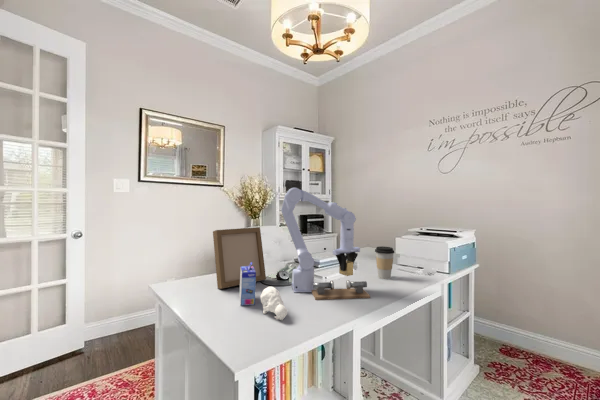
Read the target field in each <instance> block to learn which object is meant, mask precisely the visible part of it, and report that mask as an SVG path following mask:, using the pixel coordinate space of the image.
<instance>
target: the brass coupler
mask: <svg viewBox="0 0 600 400" xmlns="http://www.w3.org/2000/svg"><path fill="white" fill-rule="evenodd" d="M338 268H339V269H338V271H339V274H340V275H343V276H345V277H348V276H349V277H350V276H353V275H354V264H353V262H351V261H347V260H346V269H345V271H342V270H341V269H340V265H339V267H338Z"/></svg>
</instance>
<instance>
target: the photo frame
mask: <svg viewBox="0 0 600 400" xmlns="http://www.w3.org/2000/svg"><path fill="white" fill-rule="evenodd" d="M261 232H262V231H261V227H260V226H258V227H257V226H256V227H242V228H228V229H227V228H226V229H216V230H213V231H212V236H213V249H214V260H215V261H214V262H215V271H216V272H215V273H216V283H217V289H227V288H230V287H235V286H236V287H237V286H240V271H241V267H243V266H249V264H250V263H251V262H252V266H254V269H255V271H256V282H259V281H265V280H267V277H266V268H265V267H266V266H265V260H264V257H265V256H264V249H263V241H262V233H261ZM250 266H251V265H250Z"/></svg>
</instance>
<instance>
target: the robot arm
mask: <svg viewBox="0 0 600 400" xmlns="http://www.w3.org/2000/svg"><path fill="white" fill-rule="evenodd" d="M299 202H308V203H311V204H313V205H314V206H316V207H318V208H320V209H323V210H324V213H325V214H326V215H328V216H329V217H331V218H333V219H335V220H336V221H340V233H339V236H340V238H339V240H340V245H339V248H336V249H332V255H333V256H335V257H336V259H337V262H338V264H339V265H340V269H341V270H342V271H345V269H346V260H347V261H351V262H353V265H354V264H355V261H356V259H357V257H358V255H359V254H358V253H361V247H360V246H354V242H355V241H354V238H355V237H354V235H355V228H354V226H355V225H354V224H355V223H356V220H357V217H356V216H355V213H353V212H352V211H349V210H348V208H346V207H342V206H340V205H339V204H338V203H337V202H335V201H334V202H333V201H331V202H330V201H329V202H326V201H324V200H322V199H321V198H319V197H317V196H315V195H314V194H312V193H310V192H309V191H307V190H303V189H299V188H298V187H291V188H289V189H288V190H287V192H286V193H285V195H284V198H283V201H282V206H281V210H280V211H281V214H282V217H283V220H284V222H285V224H286V227H287V231H288V232H289V234H290V237H291V240H292V243H293V245H294V247H295V250H296V253H297V260H298V266H296V268H297V269H293V271H292V283H291V287H292V291H293V293H312V291H311V290H316V289H313V283H315V267H314V266H315V260H314V258H313V256H312V254H311V253H310V252H309V251H308V248H307V245H306V243H305V240H304V238H303V235H302V232H301V230H300V228H299V225H298V221H297V218H296V217H295V214H294V210H295V208H296V206H297V204H298V203H299Z"/></svg>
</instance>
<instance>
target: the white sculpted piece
mask: <svg viewBox="0 0 600 400" xmlns="http://www.w3.org/2000/svg"><path fill="white" fill-rule="evenodd" d="M259 298H260V303H261V304H262V314H263V315H266V314H267V313H268V312H271V313H274V315H276V316H274V318H275V321H276V320H279V321H281V322H282V321H283V320H284V318H286V316H287V315H288V309H287V308H286V307H285V305H284V304H285V303H284V300H283V299H282V297H281V294H280V291H279V290H278V289H277V288H275V287H274V286H267V287H266V288H264V289H263V290H262V292H261V294H260V297H259Z"/></svg>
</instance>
